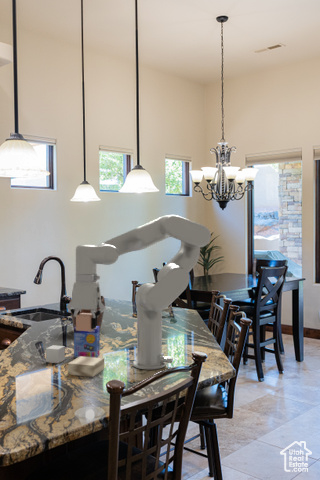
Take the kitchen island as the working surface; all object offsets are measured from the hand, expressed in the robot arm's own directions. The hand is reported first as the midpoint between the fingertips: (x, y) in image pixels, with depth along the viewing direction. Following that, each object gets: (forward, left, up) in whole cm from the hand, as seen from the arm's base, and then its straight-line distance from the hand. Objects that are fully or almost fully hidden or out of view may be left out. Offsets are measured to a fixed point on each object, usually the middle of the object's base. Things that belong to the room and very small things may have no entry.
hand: (85, 327), depth 177 cm
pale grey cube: (+18, -10, -17) cm, 26 cm away
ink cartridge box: (+9, -20, -17) cm, 28 cm away
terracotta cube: (0, 0, -1) cm, 1 cm away
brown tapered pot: (+29, -64, -17) cm, 72 cm away
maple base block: (0, 0, -16) cm, 16 cm away
